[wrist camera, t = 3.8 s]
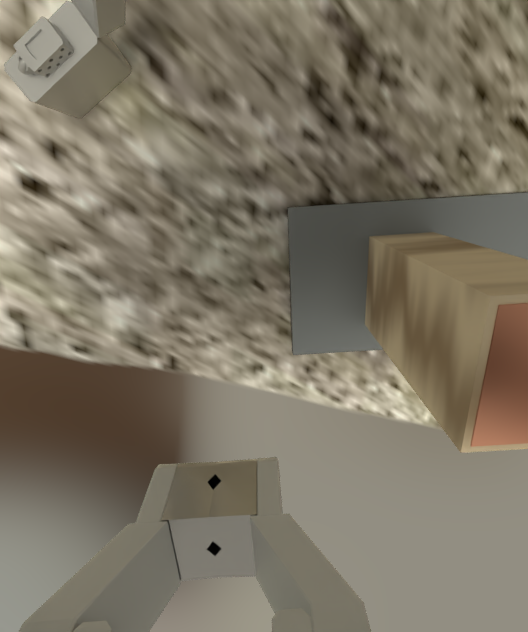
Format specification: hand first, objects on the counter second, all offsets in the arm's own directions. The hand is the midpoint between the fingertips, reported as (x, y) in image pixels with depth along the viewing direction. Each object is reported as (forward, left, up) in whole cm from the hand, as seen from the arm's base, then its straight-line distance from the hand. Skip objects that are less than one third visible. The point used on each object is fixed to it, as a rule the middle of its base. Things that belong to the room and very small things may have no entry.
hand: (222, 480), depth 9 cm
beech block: (0, +10, -15) cm, 18 cm away
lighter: (-13, -6, -16) cm, 22 cm away
